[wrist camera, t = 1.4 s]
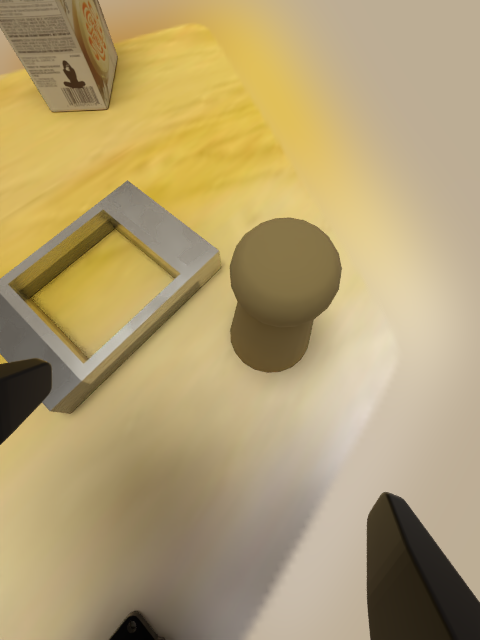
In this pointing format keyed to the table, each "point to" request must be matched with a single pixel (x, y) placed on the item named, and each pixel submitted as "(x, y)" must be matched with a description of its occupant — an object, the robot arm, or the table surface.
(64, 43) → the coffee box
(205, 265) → the silver metal frame
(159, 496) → the table surface
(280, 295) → the cork
